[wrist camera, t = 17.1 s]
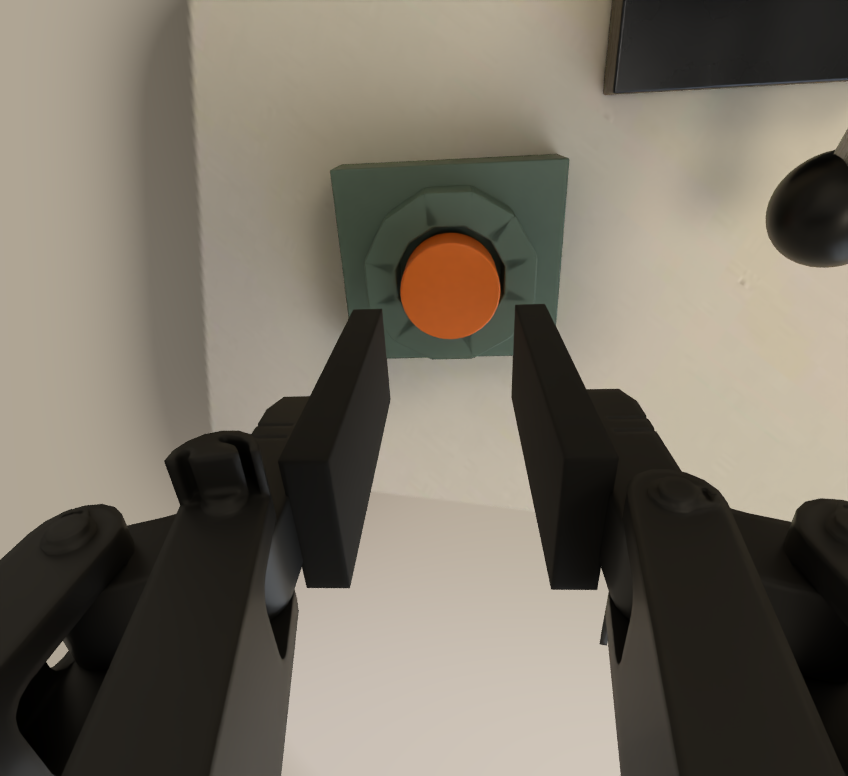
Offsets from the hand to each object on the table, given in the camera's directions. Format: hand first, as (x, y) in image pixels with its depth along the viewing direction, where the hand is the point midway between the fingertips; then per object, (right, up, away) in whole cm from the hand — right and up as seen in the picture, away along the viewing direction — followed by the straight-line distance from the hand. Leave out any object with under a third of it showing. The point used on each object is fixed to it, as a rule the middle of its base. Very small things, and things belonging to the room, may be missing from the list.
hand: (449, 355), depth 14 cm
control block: (+1, +5, +9) cm, 11 cm away
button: (0, +3, +6) cm, 7 cm away
